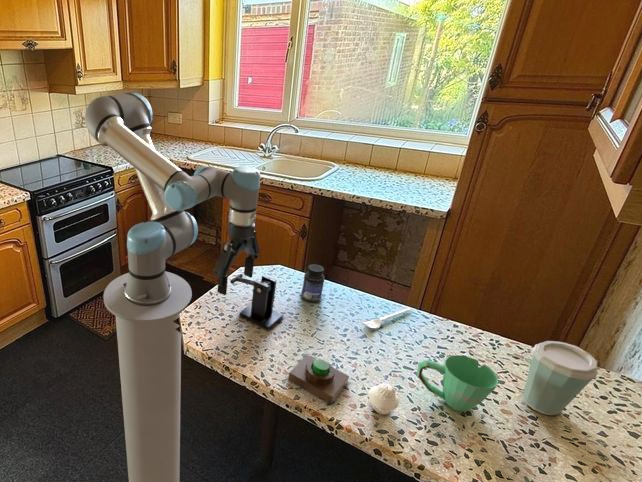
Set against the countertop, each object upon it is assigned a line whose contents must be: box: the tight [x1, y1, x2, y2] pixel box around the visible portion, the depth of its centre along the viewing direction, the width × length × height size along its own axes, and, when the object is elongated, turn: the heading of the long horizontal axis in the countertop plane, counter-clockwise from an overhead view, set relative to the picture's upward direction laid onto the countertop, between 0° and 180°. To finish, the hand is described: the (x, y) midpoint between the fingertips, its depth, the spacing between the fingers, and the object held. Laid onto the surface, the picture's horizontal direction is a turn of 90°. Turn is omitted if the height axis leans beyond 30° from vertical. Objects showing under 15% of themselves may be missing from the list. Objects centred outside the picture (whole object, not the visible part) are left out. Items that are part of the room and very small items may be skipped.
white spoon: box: [361, 308, 411, 329], centre depth 119 cm, size 3×20×2 cm, turn 116°
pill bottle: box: [300, 263, 326, 303], centre depth 127 cm, size 6×6×11 cm
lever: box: [229, 273, 271, 291], centre depth 118 cm, size 12×5×2 cm, turn 46°
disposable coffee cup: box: [522, 340, 599, 416], centre depth 88 cm, size 11×11×15 cm
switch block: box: [288, 353, 350, 405], centre depth 97 cm, size 11×9×4 cm
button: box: [312, 358, 329, 375], centre depth 96 cm, size 4×4×2 cm
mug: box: [416, 354, 500, 413], centre depth 90 cm, size 15×10×10 cm
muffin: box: [368, 382, 400, 415], centre depth 89 cm, size 6×6×7 cm
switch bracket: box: [239, 274, 284, 331], centre depth 117 cm, size 10×8×13 cm
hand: (235, 284), depth 123 cm, fingers open, 13 cm apart
